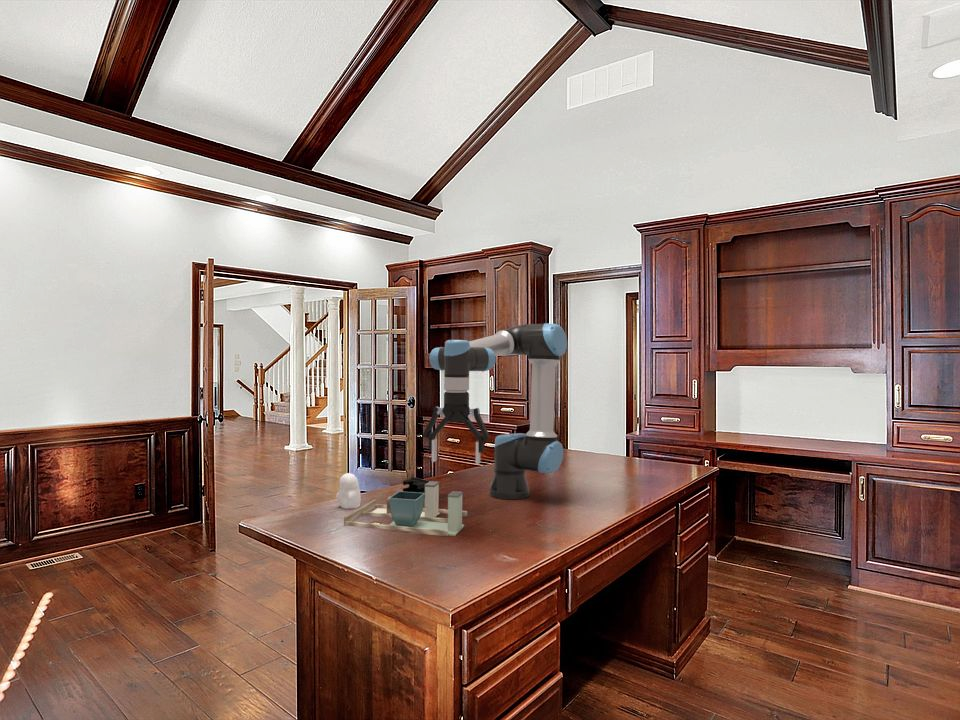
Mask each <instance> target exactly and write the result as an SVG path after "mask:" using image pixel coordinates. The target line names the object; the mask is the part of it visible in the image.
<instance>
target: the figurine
mask: <svg viewBox="0 0 960 720" xmlns="http://www.w3.org/2000/svg"><path fill="white" fill-rule="evenodd" d="M338 484H339V490H338V491H337V493H336V500H337V502H338V504H339V505H340V507H341V508H342V509H346V510H350V509H352V510H353V509H359V508H360V507H361V502H362V501H361V499H362V497H361V489H360V484H359V480H358V478H357V476H356V475H354V474H353V473H351V472H346V473H344V474H343V475H341V476H340V477H339V483H338Z"/></svg>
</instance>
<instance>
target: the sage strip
mask: <svg viewBox="0 0 960 720" xmlns="http://www.w3.org/2000/svg"><path fill="white" fill-rule="evenodd" d="M463 493H464V491H459V490H458V491H456V490H452V491H451V492H450V493H448V495H447V510H448V514H447V519H448V523H445V522H433V521H421V520H418V521H417V523H416V524H415V525H414V526H412V527H416V528H427V529H438V530H448V536H451V537H452V536H454V537H455V536H456V535H457V534H458V533H459V532H461V530H462V529H463V528H464V527H465V524H463V516H462V511H463ZM388 525H394V526H397V525H396V524H395V522H394V520H393V521H392V522H390V523H389V524H388ZM405 527H408V526H405Z"/></svg>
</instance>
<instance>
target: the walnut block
mask: <svg viewBox="0 0 960 720" xmlns="http://www.w3.org/2000/svg"><path fill="white" fill-rule="evenodd" d="M391 496H392V495H388V497H387V499H386V505H387V514H391V510H390V501H389V498H390V497H391Z"/></svg>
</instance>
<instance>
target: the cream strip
mask: <svg viewBox="0 0 960 720" xmlns="http://www.w3.org/2000/svg"><path fill="white" fill-rule="evenodd" d="M429 481H430V480H429ZM439 485H440V481H432V480H431V481H430V482H428V483H426V484H425V498H424V508H425V512H422V513H421V516H423V517H434V518H437V516H438V515H440V514H441V513H438V509H439V500H440V499H439V496H440V495H439V494H440V492H439V490H440V486H439ZM371 512H375V513H387V509H385V508H375V509H373V510H371Z"/></svg>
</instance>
